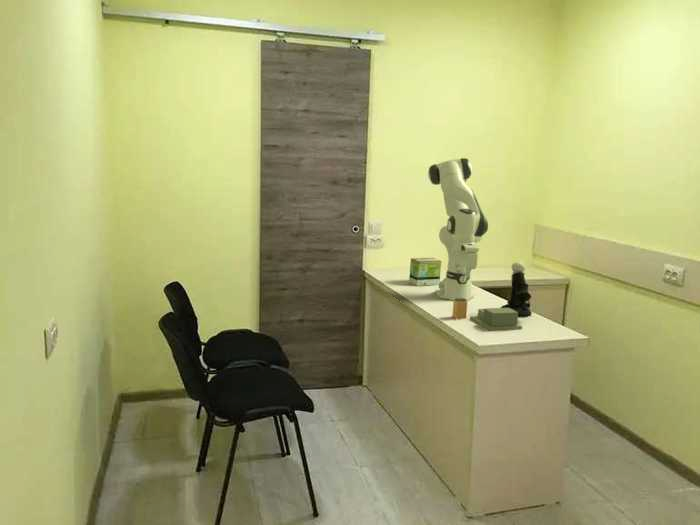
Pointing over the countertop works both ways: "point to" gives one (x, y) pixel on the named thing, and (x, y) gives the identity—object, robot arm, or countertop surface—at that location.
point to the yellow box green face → (459, 308)
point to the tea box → (425, 271)
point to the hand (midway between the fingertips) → (462, 275)
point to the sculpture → (519, 291)
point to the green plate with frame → (497, 318)
